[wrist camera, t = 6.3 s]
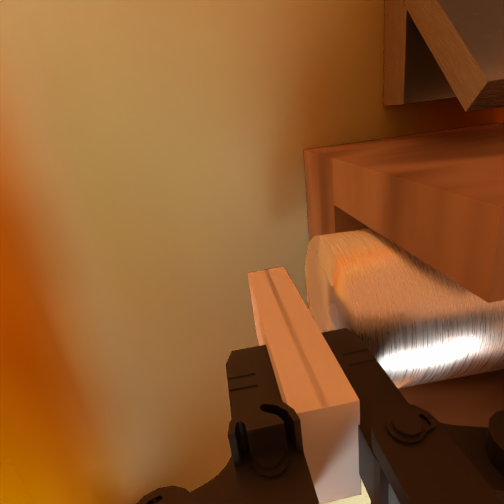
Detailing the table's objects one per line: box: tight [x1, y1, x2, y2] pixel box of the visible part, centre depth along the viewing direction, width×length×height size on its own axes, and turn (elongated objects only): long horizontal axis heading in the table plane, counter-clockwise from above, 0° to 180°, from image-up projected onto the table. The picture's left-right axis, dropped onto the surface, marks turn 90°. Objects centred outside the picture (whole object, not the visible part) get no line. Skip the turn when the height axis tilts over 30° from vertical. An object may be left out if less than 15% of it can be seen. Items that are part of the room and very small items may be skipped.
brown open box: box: [304, 123, 504, 427], centre depth 13 cm, size 10×10×13 cm
